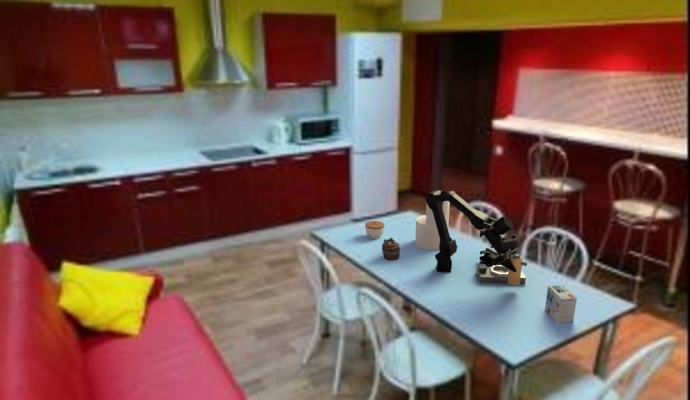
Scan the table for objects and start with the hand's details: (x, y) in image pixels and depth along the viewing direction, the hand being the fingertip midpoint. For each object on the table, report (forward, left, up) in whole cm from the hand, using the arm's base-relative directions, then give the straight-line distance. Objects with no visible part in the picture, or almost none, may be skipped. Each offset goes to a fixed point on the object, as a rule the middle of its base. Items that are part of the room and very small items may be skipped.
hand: (518, 269), depth 206 cm
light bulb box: (+12, -19, -11) cm, 25 cm away
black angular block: (-5, +27, -11) cm, 29 cm away
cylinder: (-32, +51, -11) cm, 61 cm away
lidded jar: (-63, +60, -11) cm, 88 cm away
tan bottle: (-1, +1, -7) cm, 7 cm away
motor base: (-4, +12, -10) cm, 16 cm away
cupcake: (-54, +33, -11) cm, 64 cm away
